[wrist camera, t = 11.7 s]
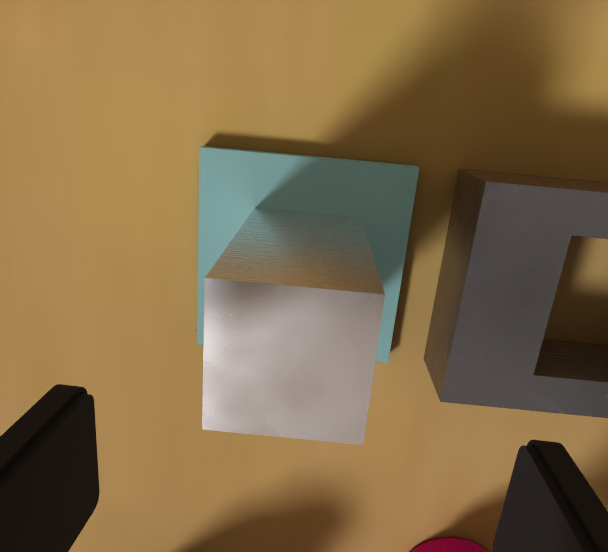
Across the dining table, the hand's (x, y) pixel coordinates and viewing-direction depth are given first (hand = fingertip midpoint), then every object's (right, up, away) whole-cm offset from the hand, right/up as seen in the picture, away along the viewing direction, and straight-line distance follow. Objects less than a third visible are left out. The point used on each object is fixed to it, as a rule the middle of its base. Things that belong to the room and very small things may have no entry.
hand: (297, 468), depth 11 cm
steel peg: (0, +5, +13) cm, 14 cm away
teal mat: (0, +5, +14) cm, 15 cm away
